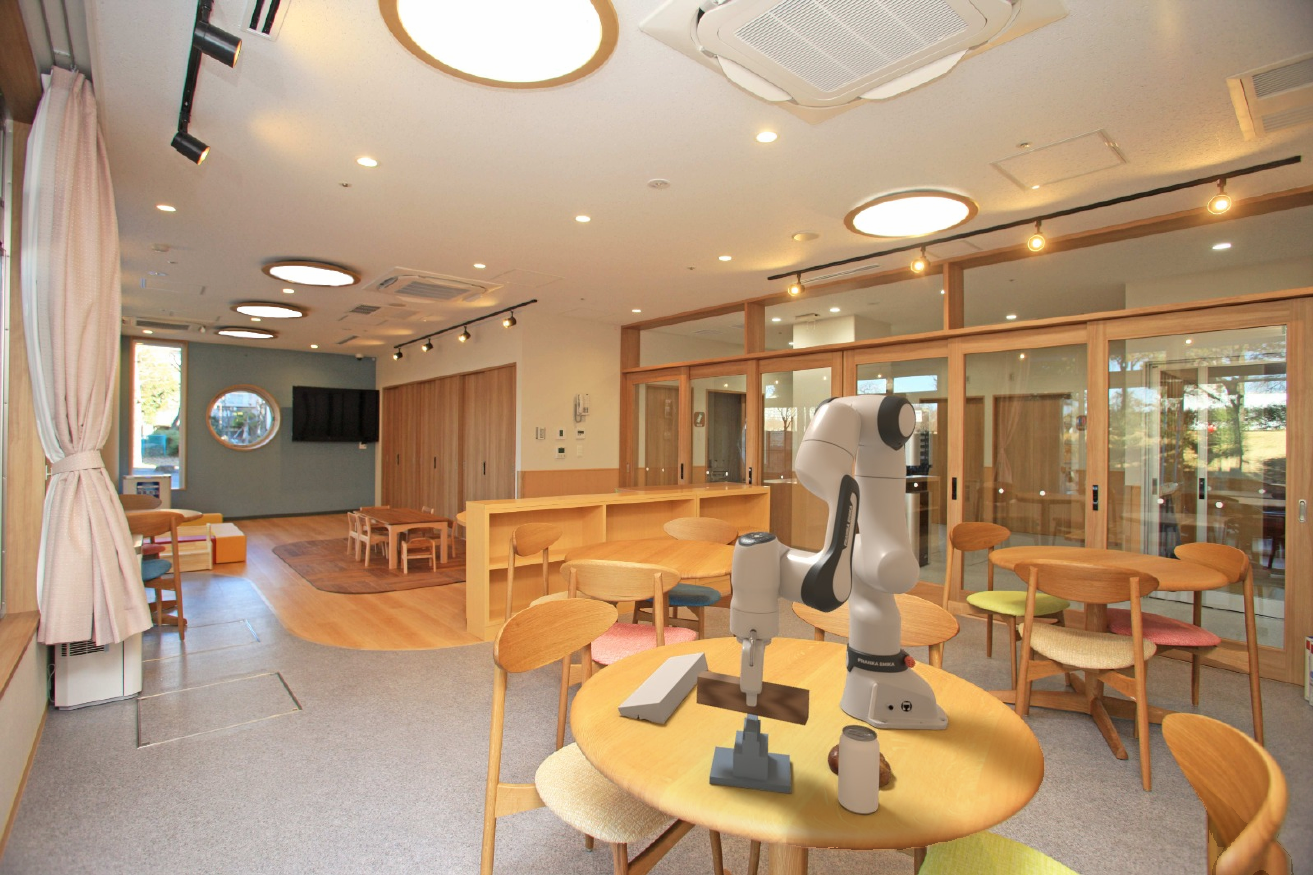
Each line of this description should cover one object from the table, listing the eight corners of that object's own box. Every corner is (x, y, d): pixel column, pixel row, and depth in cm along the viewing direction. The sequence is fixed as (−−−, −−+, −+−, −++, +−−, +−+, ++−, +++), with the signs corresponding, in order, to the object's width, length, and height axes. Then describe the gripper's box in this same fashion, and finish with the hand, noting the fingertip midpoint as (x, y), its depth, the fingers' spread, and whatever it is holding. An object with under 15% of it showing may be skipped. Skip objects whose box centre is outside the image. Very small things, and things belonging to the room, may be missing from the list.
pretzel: (907, 783, 112) (907, 762, 112) (859, 795, 108) (860, 774, 108) (860, 750, 123) (861, 732, 123) (815, 761, 119) (816, 741, 119)
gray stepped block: (789, 761, 118) (790, 712, 118) (790, 793, 107) (791, 740, 107) (715, 752, 121) (716, 705, 121) (709, 783, 110) (710, 731, 110)
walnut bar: (808, 717, 112) (809, 689, 112) (805, 725, 109) (806, 696, 109) (702, 696, 120) (703, 670, 120) (696, 703, 117) (697, 676, 116)
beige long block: (622, 730, 136) (664, 725, 132) (617, 707, 136) (659, 702, 133) (673, 675, 168) (708, 670, 164) (669, 657, 168) (704, 652, 165)
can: (873, 820, 100) (875, 745, 100) (833, 807, 104) (834, 734, 104) (882, 801, 106) (883, 730, 106) (843, 788, 109) (845, 720, 109)
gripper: (771, 642, 103) (768, 726, 103) (772, 609, 123) (770, 679, 123) (733, 638, 105) (730, 721, 105) (740, 606, 125) (738, 676, 125)
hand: (752, 698), depth 114 cm, fingers closed on walnut bar, 4 cm apart
